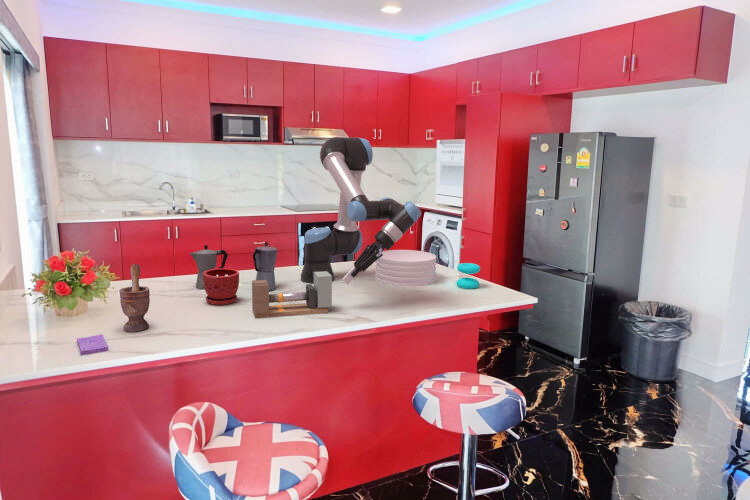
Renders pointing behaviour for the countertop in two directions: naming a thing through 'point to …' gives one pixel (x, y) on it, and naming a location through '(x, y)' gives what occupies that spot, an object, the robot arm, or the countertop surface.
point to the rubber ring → (310, 295)
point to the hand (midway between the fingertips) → (344, 281)
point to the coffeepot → (207, 262)
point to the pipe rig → (263, 299)
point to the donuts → (468, 269)
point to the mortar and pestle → (135, 302)
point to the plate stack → (406, 268)
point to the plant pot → (221, 285)
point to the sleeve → (323, 289)
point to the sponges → (92, 344)
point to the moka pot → (265, 264)
